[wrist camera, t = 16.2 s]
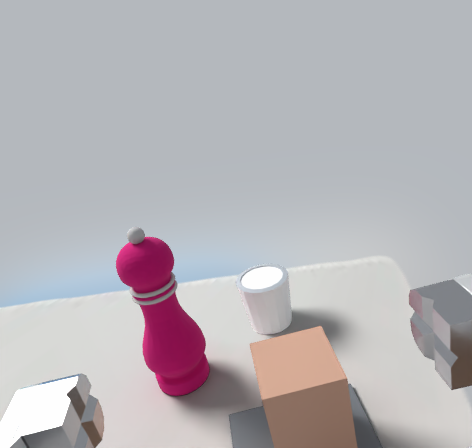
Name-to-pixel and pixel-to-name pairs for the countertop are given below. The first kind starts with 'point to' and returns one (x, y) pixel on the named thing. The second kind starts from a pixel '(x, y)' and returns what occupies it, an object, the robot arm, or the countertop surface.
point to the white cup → (266, 297)
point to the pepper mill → (163, 315)
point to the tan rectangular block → (304, 391)
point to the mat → (259, 437)
